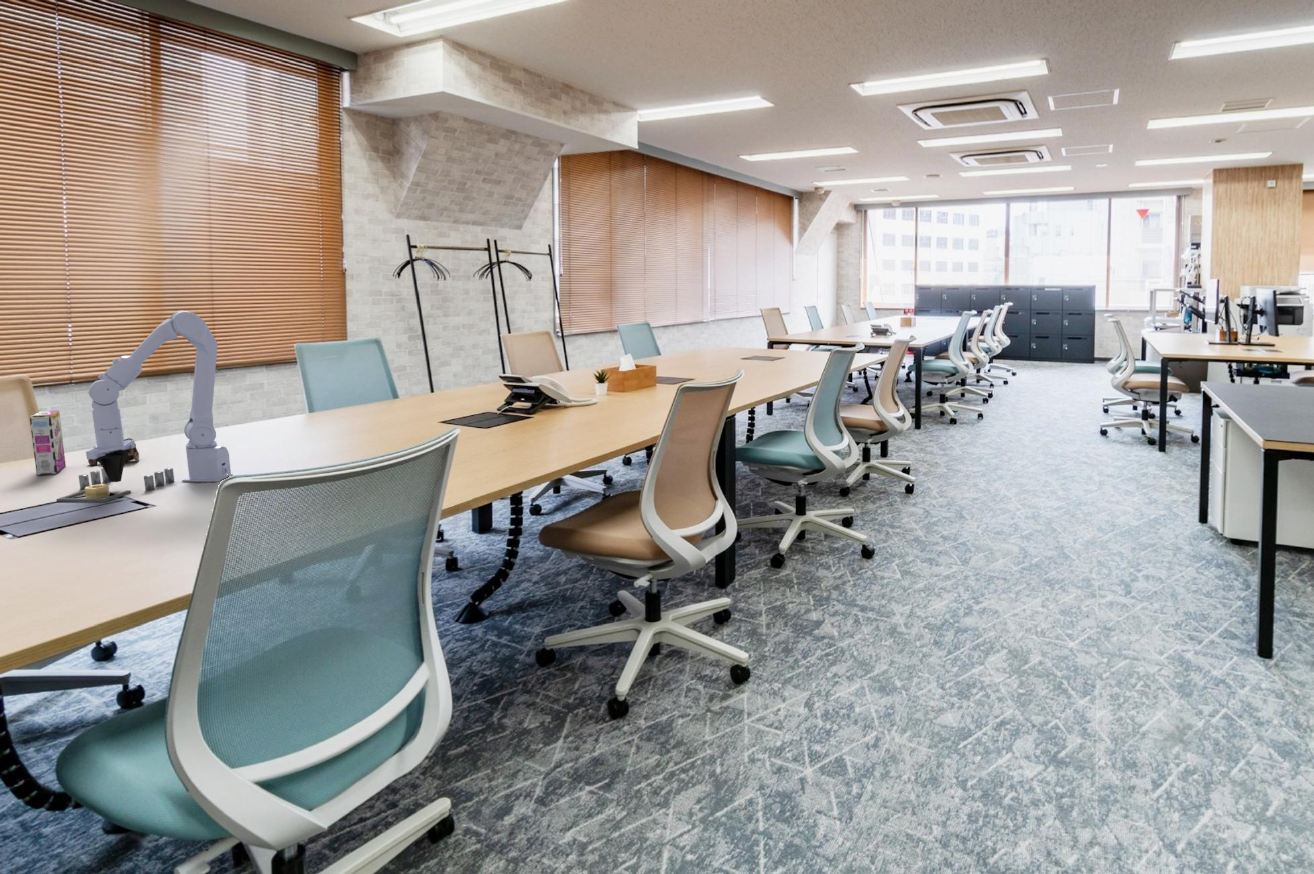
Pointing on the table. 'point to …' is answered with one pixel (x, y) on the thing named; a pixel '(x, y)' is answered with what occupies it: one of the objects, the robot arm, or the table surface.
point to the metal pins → (147, 479)
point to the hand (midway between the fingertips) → (115, 481)
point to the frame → (71, 499)
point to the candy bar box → (47, 442)
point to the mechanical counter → (131, 451)
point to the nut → (97, 491)
